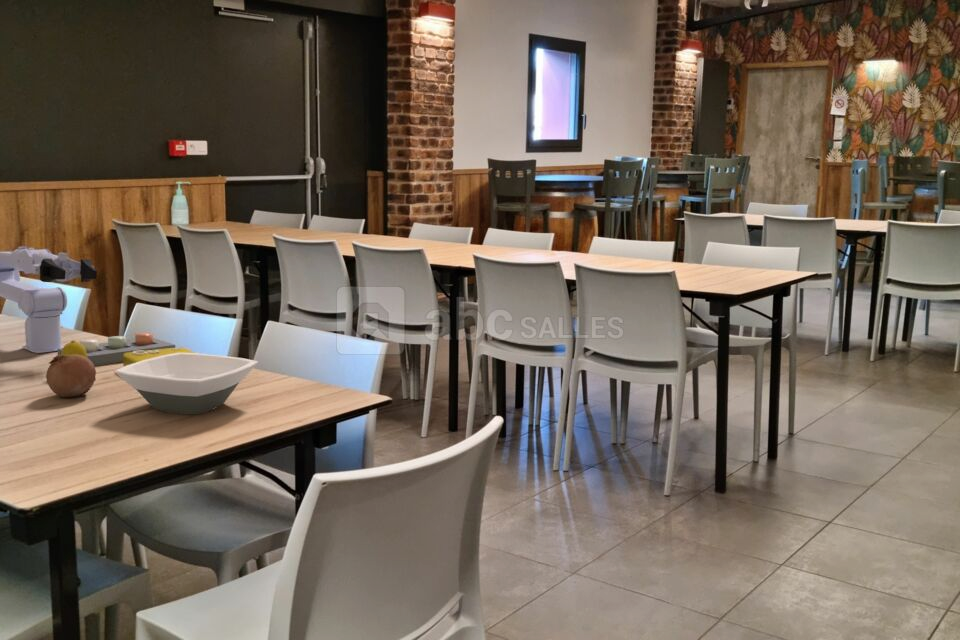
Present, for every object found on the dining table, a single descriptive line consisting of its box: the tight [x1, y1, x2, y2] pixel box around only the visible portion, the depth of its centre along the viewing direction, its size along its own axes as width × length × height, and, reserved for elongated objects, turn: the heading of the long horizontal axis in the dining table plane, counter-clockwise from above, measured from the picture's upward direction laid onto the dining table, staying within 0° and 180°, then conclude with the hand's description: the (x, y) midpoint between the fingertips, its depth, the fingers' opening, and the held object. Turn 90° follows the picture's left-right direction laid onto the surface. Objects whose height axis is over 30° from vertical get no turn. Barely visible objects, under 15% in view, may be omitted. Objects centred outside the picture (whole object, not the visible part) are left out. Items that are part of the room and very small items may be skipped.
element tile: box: [122, 346, 196, 367], centre depth 222 cm, size 15×15×5 cm
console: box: [57, 337, 176, 367], centre depth 236 cm, size 13×24×2 cm, turn 135°
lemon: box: [61, 340, 87, 357], centre depth 215 cm, size 6×6×8 cm
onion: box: [45, 354, 97, 399], centre depth 197 cm, size 10×9×10 cm
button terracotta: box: [134, 332, 154, 346], centre depth 241 cm, size 4×4×3 cm
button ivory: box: [79, 338, 99, 353], centre depth 231 cm, size 4×4×3 cm
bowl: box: [114, 352, 259, 415], centre depth 191 cm, size 22×23×8 cm
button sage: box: [107, 335, 127, 350], centre depth 236 cm, size 4×4×3 cm
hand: (79, 274), depth 226 cm, fingers open, 7 cm apart
